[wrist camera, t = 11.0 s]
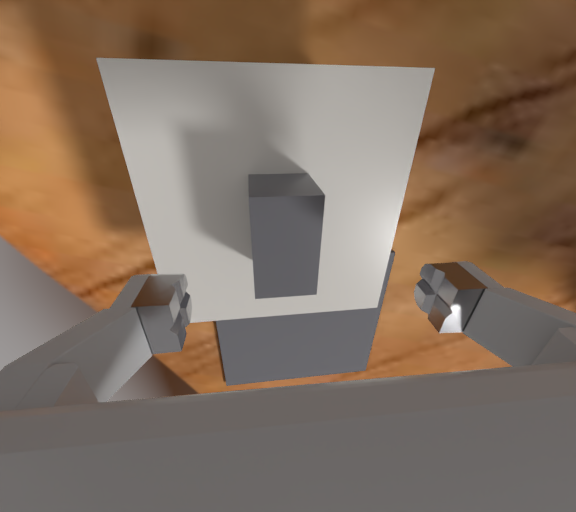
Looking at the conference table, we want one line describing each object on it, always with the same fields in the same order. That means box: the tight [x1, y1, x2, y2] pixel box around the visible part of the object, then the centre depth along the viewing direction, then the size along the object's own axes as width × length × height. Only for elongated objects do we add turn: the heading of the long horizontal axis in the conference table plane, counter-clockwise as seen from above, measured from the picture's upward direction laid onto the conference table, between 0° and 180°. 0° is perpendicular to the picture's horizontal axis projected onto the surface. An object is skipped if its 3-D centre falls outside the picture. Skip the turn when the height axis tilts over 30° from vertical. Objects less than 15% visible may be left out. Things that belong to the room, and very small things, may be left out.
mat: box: [216, 251, 395, 386], centre depth 28 cm, size 17×17×1 cm
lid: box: [96, 58, 435, 323], centre depth 14 cm, size 14×14×4 cm
